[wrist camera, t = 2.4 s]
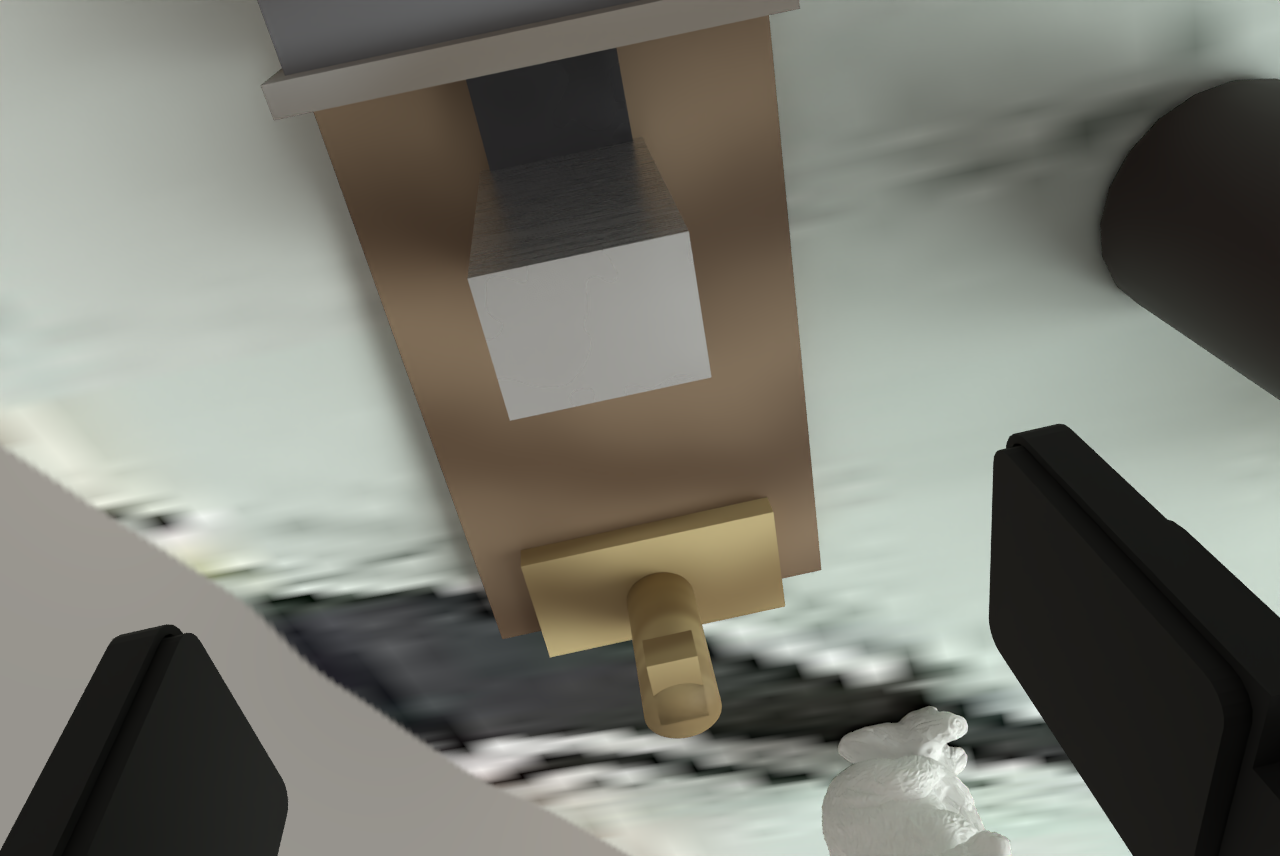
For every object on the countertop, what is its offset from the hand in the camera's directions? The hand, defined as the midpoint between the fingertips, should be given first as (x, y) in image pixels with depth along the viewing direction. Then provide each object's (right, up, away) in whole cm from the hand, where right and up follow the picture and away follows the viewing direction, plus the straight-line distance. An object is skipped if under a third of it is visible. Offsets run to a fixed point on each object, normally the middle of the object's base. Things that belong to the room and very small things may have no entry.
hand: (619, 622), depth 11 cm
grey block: (-2, +12, +10) cm, 16 cm away
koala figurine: (+11, -11, +27) cm, 31 cm away
